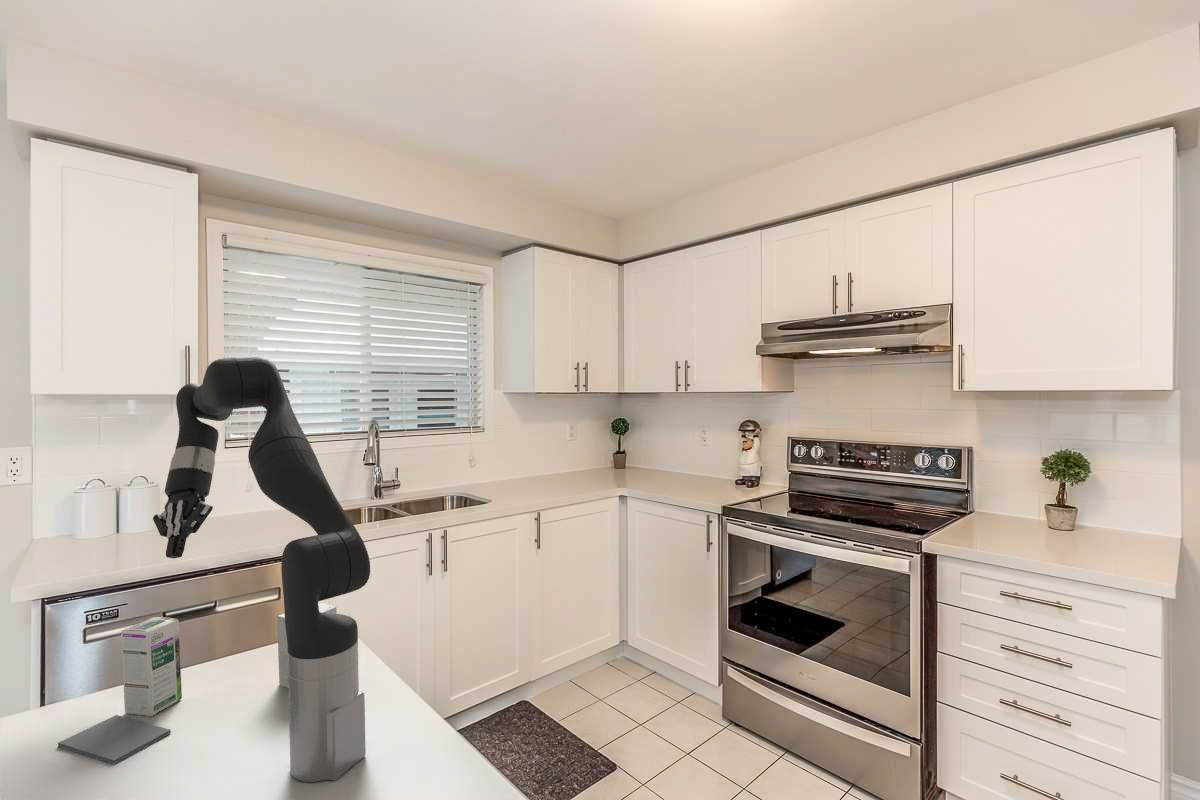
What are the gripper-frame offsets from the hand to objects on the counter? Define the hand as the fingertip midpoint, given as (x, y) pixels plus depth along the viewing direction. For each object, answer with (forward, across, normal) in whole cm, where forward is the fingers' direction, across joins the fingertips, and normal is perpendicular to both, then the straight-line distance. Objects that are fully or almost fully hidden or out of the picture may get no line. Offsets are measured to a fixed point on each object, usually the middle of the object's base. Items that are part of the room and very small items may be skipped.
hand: (173, 557), depth 112 cm
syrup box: (+26, +2, +1) cm, 26 cm away
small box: (+24, +21, +15) cm, 36 cm away
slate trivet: (+31, +5, -7) cm, 32 cm away
